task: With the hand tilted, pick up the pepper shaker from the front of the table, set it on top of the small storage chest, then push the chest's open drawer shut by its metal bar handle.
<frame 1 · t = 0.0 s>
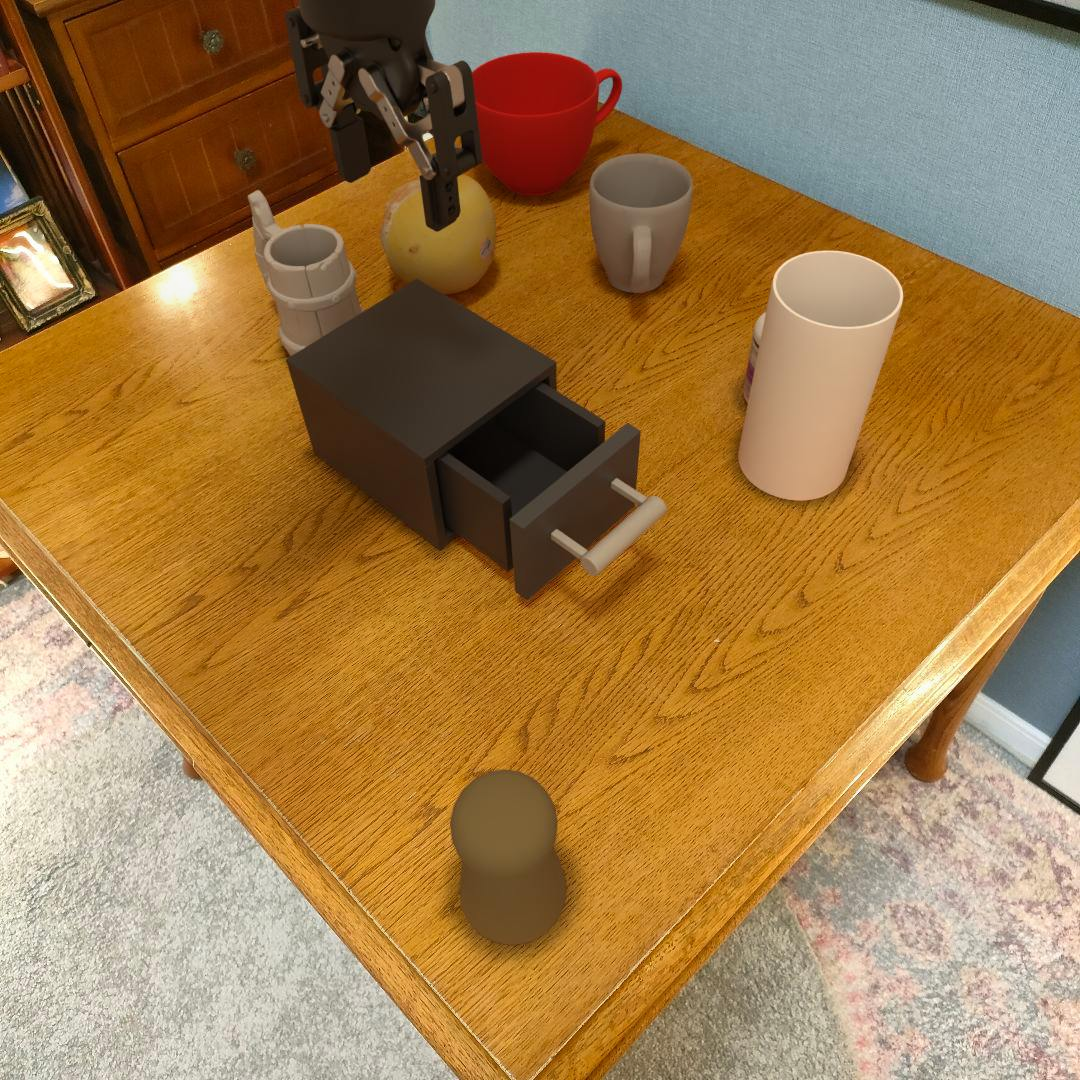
hand: (398, 200, 62), 19 cm above the table, tool pointing down, fingers open, 8 cm apart
pepper shaker: (513, 890, 54), on the table
ceramic cup: (550, 174, 100), on the table
mug 2: (635, 287, 88), on the table
cup: (791, 462, 73), on the table
mug: (314, 334, 85), on the table
fruit: (444, 281, 89), on the table
pill bottle: (774, 399, 78), on the table
small storage chest: (435, 455, 75), on the table
drawer: (534, 482, 66), point 5 cm above the table, slide at 7.0 cm
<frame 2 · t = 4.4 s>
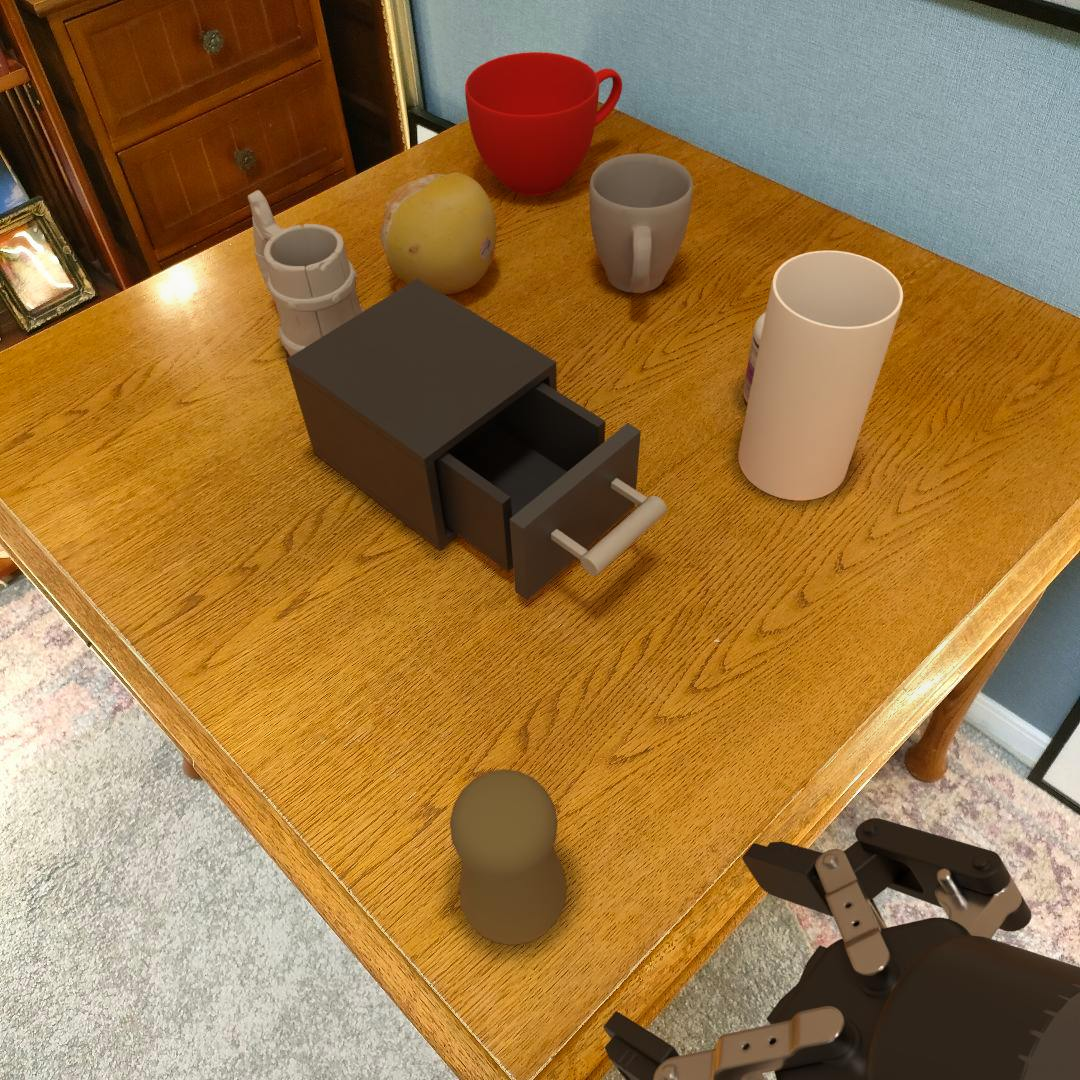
hand: (691, 947, 37), 15 cm above the table, tool tilted 45°, fingers open, 8 cm apart
nothing on the table moved.
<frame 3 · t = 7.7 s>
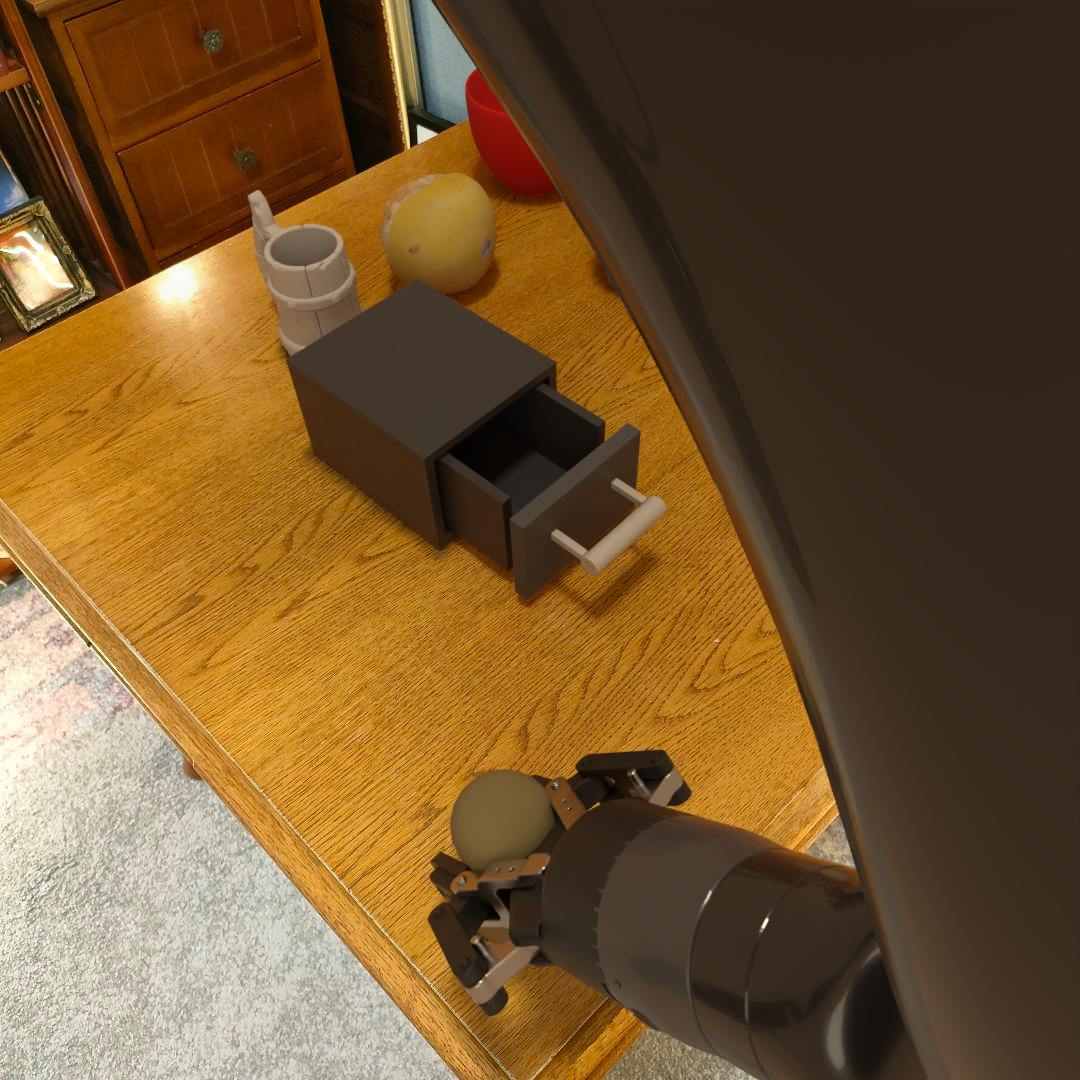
hand: (483, 832, 50), 5 cm above the table, tool tilted 45°, fingers closed on pepper shaker, 5 cm apart
pepper shaker: (513, 890, 54), on the table, touching gripper
everything else where it was.
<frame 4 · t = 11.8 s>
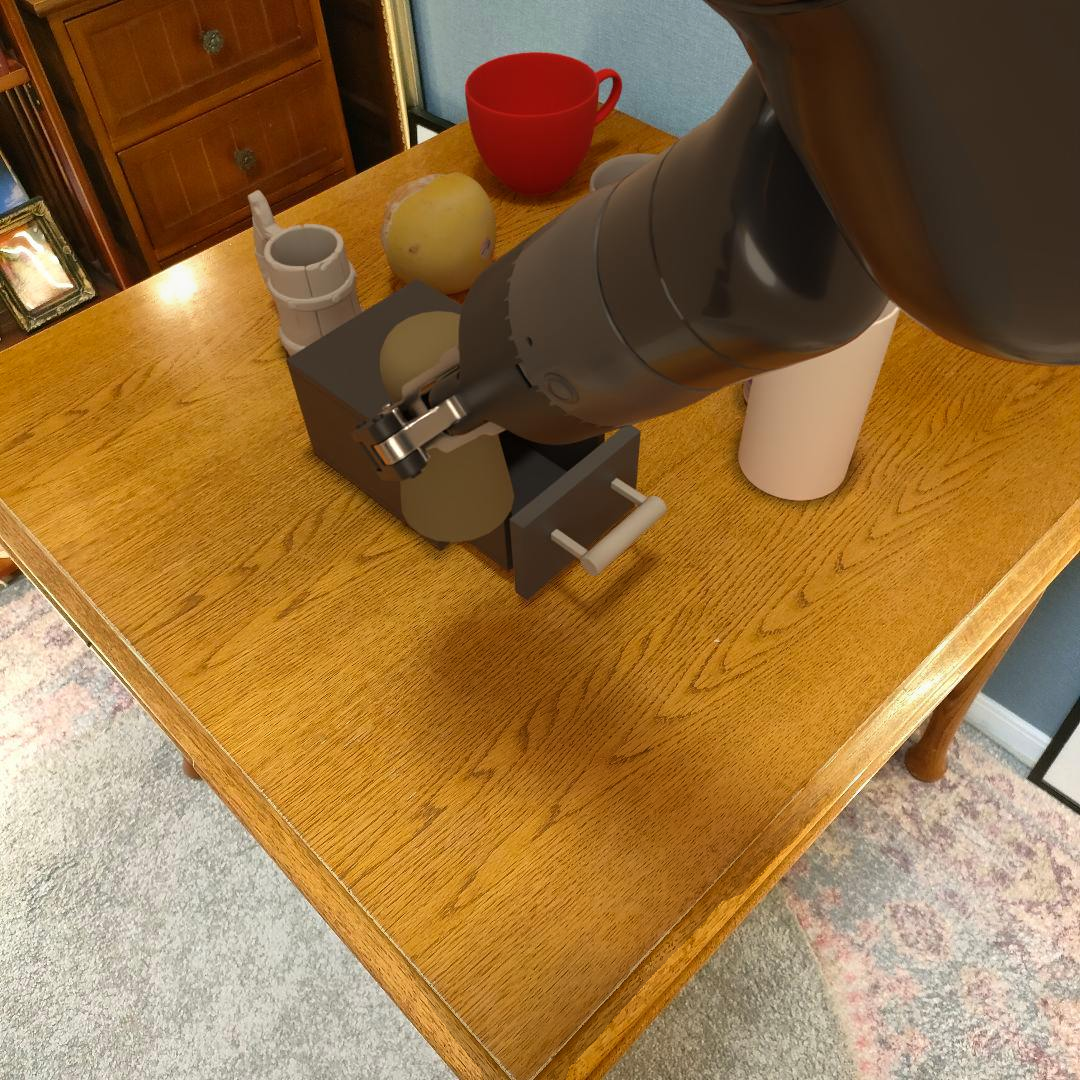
hand: (421, 411, 47), 21 cm above the table, tool tilted 45°, fingers closed on pepper shaker, 5 cm apart
pepper shaker: (457, 500, 51), point 16 cm above the table, touching gripper
everything else where it was.
when the fingers open (15 cm above the table, at t = 16.1 s): pepper shaker stays where it is, resting on small storage chest.
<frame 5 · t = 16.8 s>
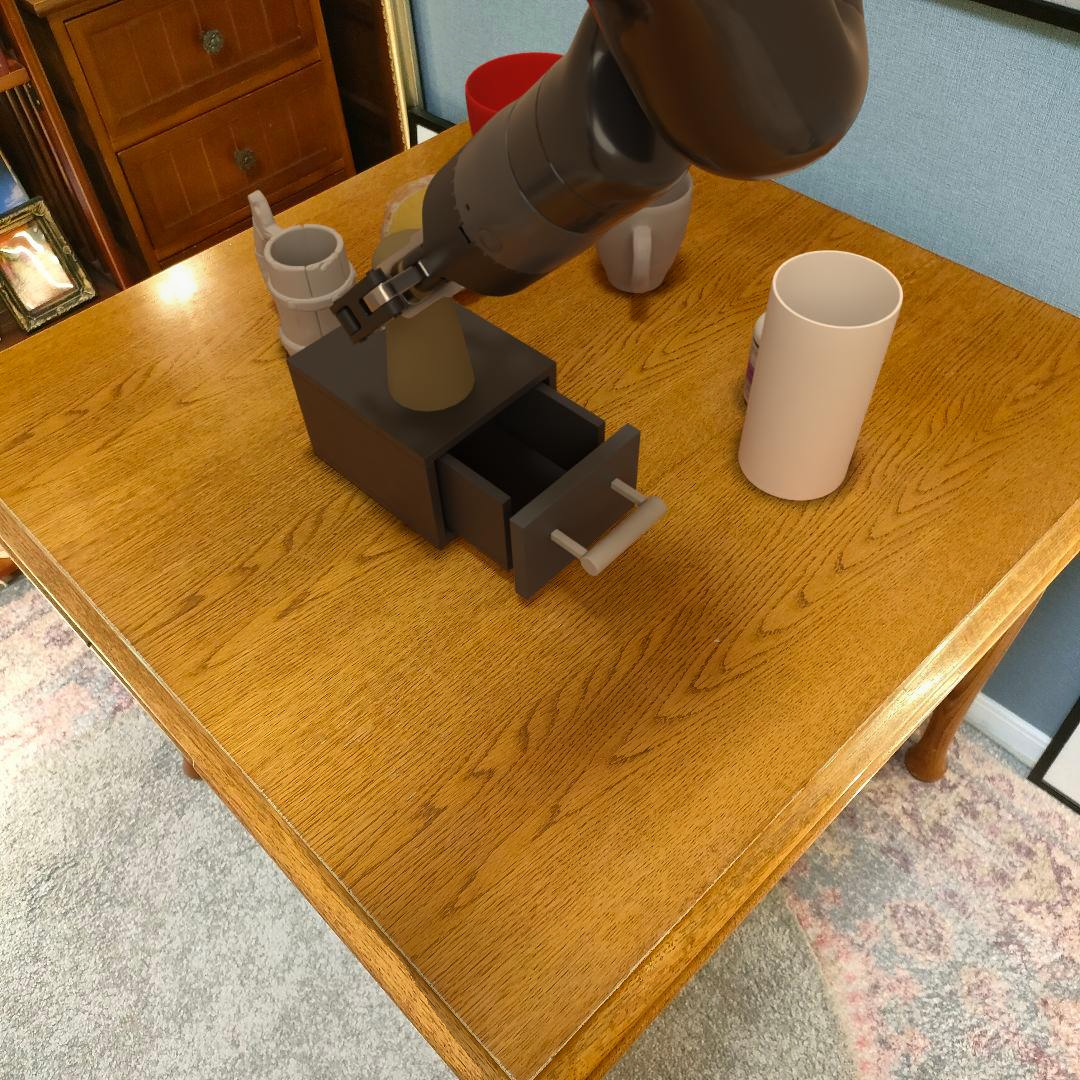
hand: (403, 293, 61), 16 cm above the table, tool tilted 45°, fingers open, 8 cm apart
pepper shaker: (431, 383, 66), point 9 cm above the table, touching small storage chest
everything else where it was.
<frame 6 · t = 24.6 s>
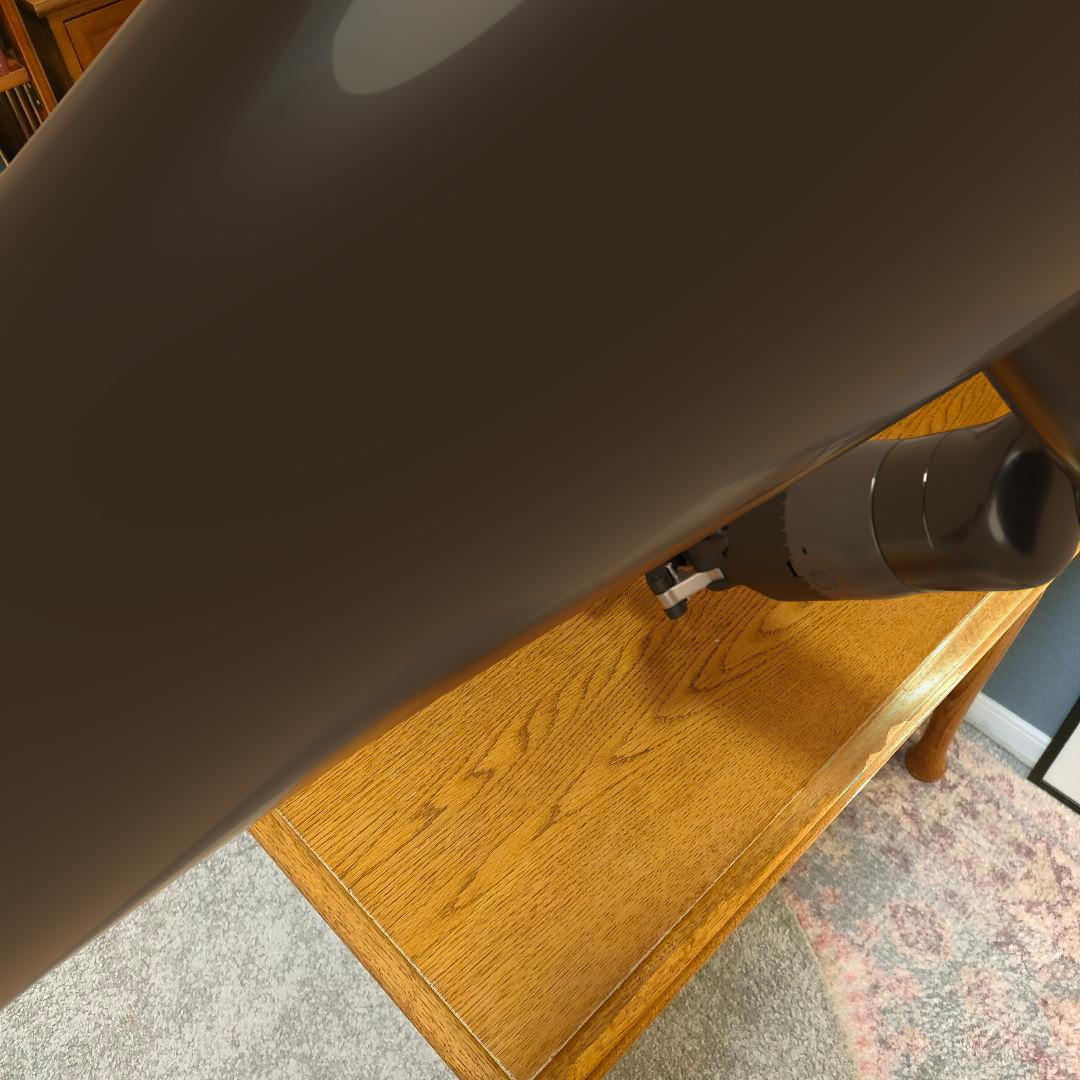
hand: (638, 546, 61), 6 cm above the table, tool tilted 45°, fingers closed
drawer: (533, 482, 66), point 5 cm above the table, slide at 7.0 cm, touching gripper
everything else where it was.
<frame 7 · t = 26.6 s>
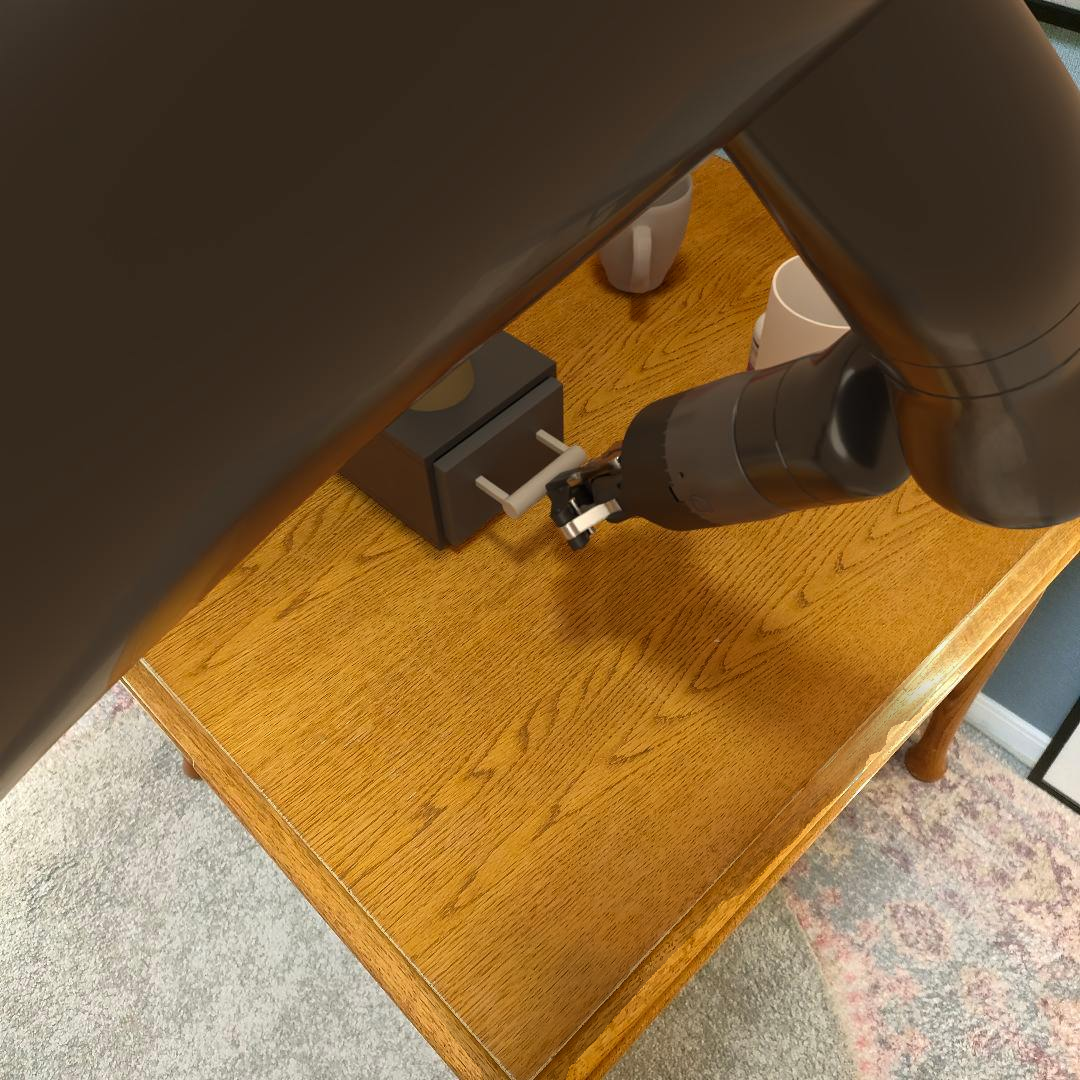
hand: (558, 492, 64), 6 cm above the table, tool tilted 45°, fingers closed
drawer: (464, 434, 69), point 5 cm above the table, slide at 0.0 cm, touching small storage chest, gripper
everything else where it was.
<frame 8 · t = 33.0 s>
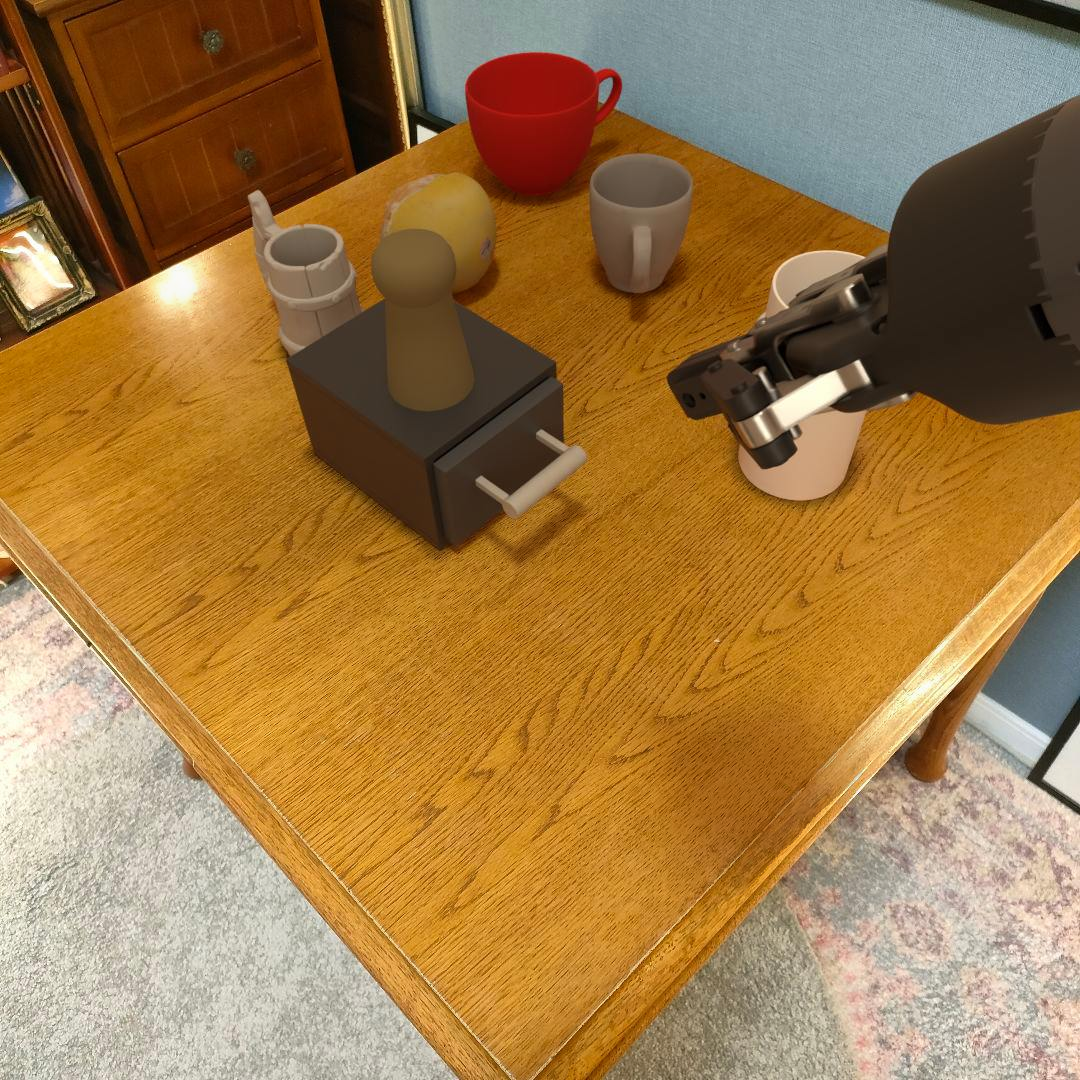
hand: (687, 389, 38), 28 cm above the table, tool tilted 45°, fingers closed
drawer: (464, 434, 69), point 5 cm above the table, slide at 0.0 cm
everything else where it was.
at the end: drawer slide at 0.0 cm; pepper shaker inside the target area on the small storage chest (1.9 cm from its centre), point 9.4 cm above the small storage chest's base; pepper shaker tilted 0° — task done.
